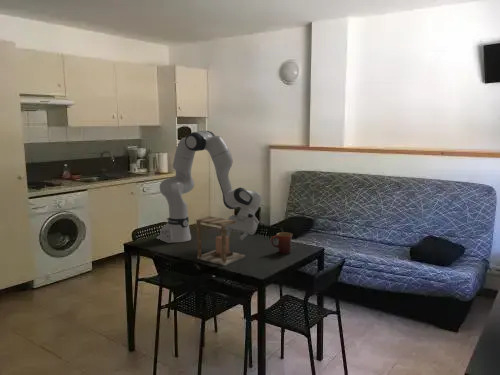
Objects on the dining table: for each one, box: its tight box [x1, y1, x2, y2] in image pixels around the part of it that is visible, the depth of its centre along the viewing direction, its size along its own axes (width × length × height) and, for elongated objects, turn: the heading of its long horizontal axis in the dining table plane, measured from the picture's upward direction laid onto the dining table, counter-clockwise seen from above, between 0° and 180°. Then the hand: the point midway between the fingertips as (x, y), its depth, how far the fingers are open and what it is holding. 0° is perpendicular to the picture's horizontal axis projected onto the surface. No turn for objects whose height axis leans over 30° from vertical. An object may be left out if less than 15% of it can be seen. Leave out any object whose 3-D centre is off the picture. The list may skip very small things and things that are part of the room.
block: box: [215, 234, 230, 255], centre depth 226 cm, size 5×5×10 cm
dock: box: [195, 215, 246, 266], centre depth 225 cm, size 19×16×21 cm
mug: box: [270, 231, 293, 255], centre depth 233 cm, size 12×9×10 cm
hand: (234, 237), depth 233 cm, fingers open, 8 cm apart
